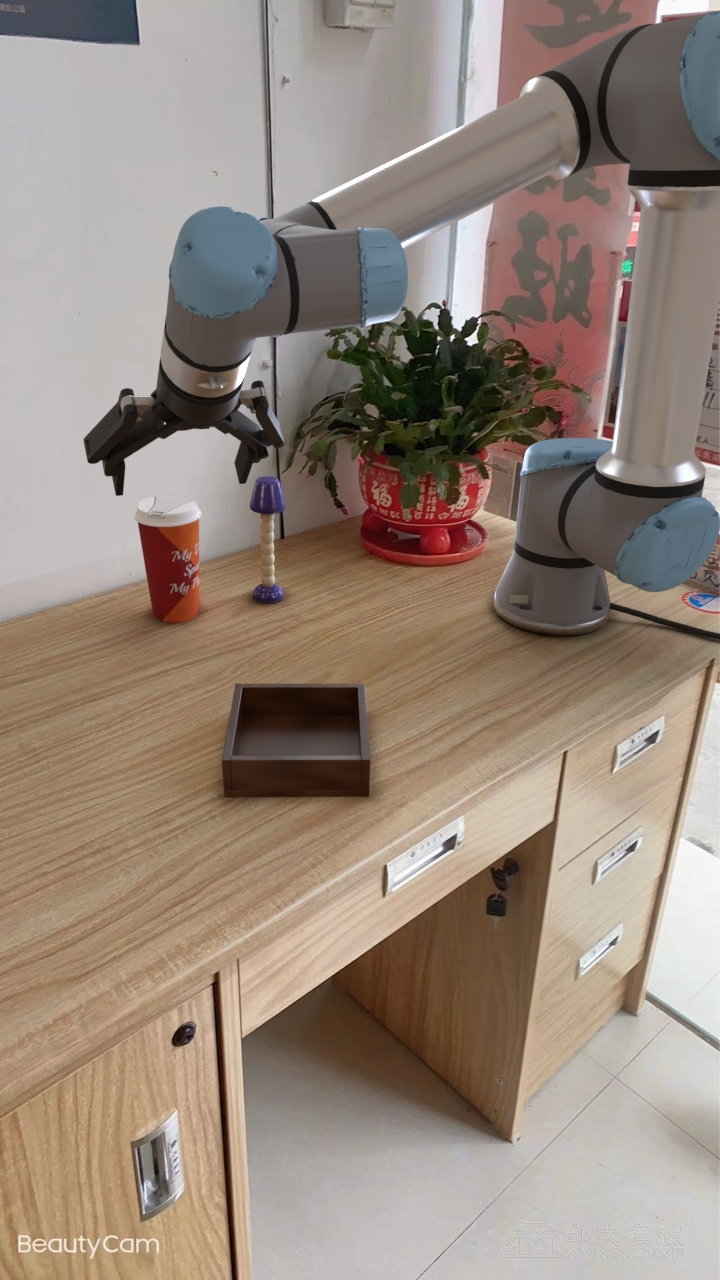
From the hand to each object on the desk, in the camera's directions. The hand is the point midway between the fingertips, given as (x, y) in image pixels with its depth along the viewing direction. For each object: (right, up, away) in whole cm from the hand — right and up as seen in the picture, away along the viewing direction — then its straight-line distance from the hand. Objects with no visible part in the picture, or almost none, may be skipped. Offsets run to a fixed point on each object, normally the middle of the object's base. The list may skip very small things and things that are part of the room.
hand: (180, 478), depth 97 cm
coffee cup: (-4, -14, +19) cm, 24 cm away
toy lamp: (+8, -12, +24) cm, 28 cm away
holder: (+14, -29, -9) cm, 34 cm away
